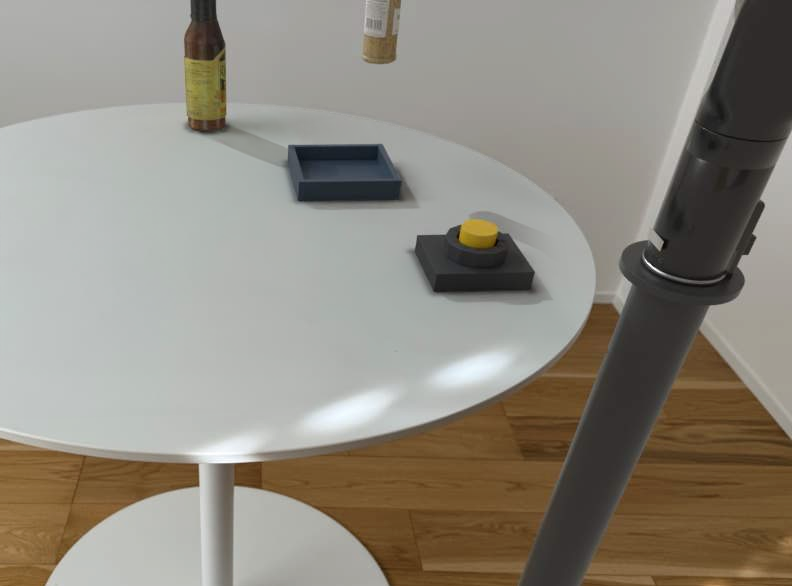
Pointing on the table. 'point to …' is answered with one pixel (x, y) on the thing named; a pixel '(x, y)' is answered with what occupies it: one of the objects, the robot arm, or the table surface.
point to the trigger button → (478, 234)
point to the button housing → (472, 263)
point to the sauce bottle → (205, 68)
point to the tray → (343, 172)
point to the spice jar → (381, 31)
